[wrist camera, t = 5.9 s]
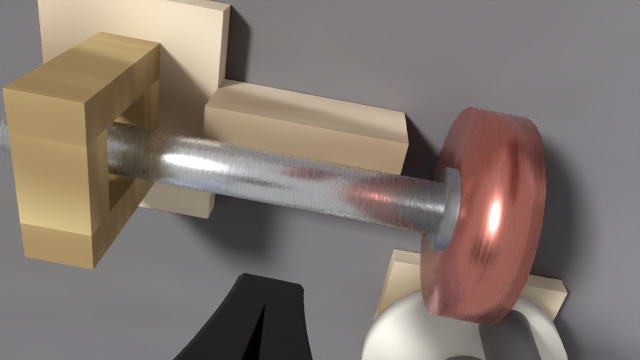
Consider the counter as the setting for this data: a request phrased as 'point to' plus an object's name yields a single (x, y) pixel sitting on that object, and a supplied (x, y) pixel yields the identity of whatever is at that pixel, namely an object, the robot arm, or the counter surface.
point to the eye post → (154, 118)
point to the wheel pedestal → (407, 280)
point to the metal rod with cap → (386, 198)
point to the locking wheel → (461, 335)
